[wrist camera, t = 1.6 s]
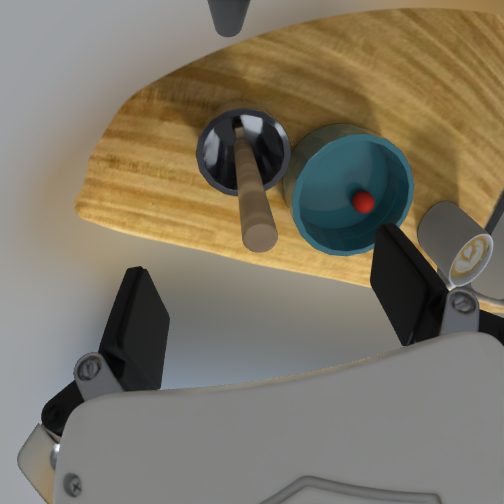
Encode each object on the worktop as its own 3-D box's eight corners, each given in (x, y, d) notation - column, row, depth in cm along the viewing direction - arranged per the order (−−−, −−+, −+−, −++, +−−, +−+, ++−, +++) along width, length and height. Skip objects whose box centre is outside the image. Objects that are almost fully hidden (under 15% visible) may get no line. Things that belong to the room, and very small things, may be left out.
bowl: (275, 129, 31) (285, 141, 26) (392, 121, 31) (417, 132, 26) (288, 239, 40) (297, 265, 35) (386, 222, 40) (405, 245, 35)
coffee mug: (427, 198, 38) (465, 233, 30) (465, 202, 38) (501, 233, 30) (404, 266, 45) (430, 305, 37) (442, 263, 46) (468, 298, 38)
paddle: (230, 121, 30) (235, 206, 12) (244, 118, 30) (273, 199, 12) (235, 150, 32) (249, 272, 14) (249, 147, 32) (281, 266, 14)
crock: (197, 107, 29) (187, 119, 21) (269, 95, 28) (284, 102, 21) (212, 172, 33) (207, 204, 26) (278, 160, 33) (294, 189, 26)
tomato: (349, 188, 35) (358, 198, 33) (369, 186, 35) (378, 195, 33) (349, 208, 37) (357, 219, 35) (368, 205, 37) (377, 216, 35)
